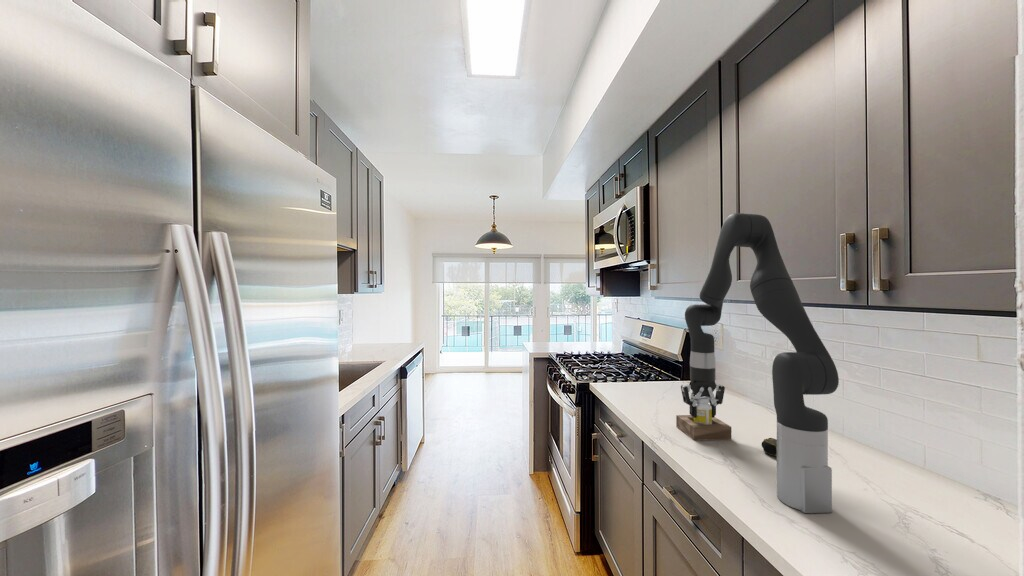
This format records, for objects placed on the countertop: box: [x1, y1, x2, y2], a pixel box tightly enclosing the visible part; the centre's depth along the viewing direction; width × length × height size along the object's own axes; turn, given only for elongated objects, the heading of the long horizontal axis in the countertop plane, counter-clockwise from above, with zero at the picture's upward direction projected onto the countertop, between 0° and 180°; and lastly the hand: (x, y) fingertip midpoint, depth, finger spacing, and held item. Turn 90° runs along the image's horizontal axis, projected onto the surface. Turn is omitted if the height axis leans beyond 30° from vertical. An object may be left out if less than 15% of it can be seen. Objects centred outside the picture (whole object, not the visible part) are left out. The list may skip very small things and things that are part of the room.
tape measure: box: [761, 437, 777, 458], centre depth 114 cm, size 7×7×4 cm
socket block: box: [675, 414, 732, 441], centre depth 131 cm, size 12×12×4 cm
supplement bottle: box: [694, 396, 712, 425], centre depth 131 cm, size 5×5×10 cm
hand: (702, 416), depth 131 cm, fingers closed on supplement bottle, 5 cm apart
